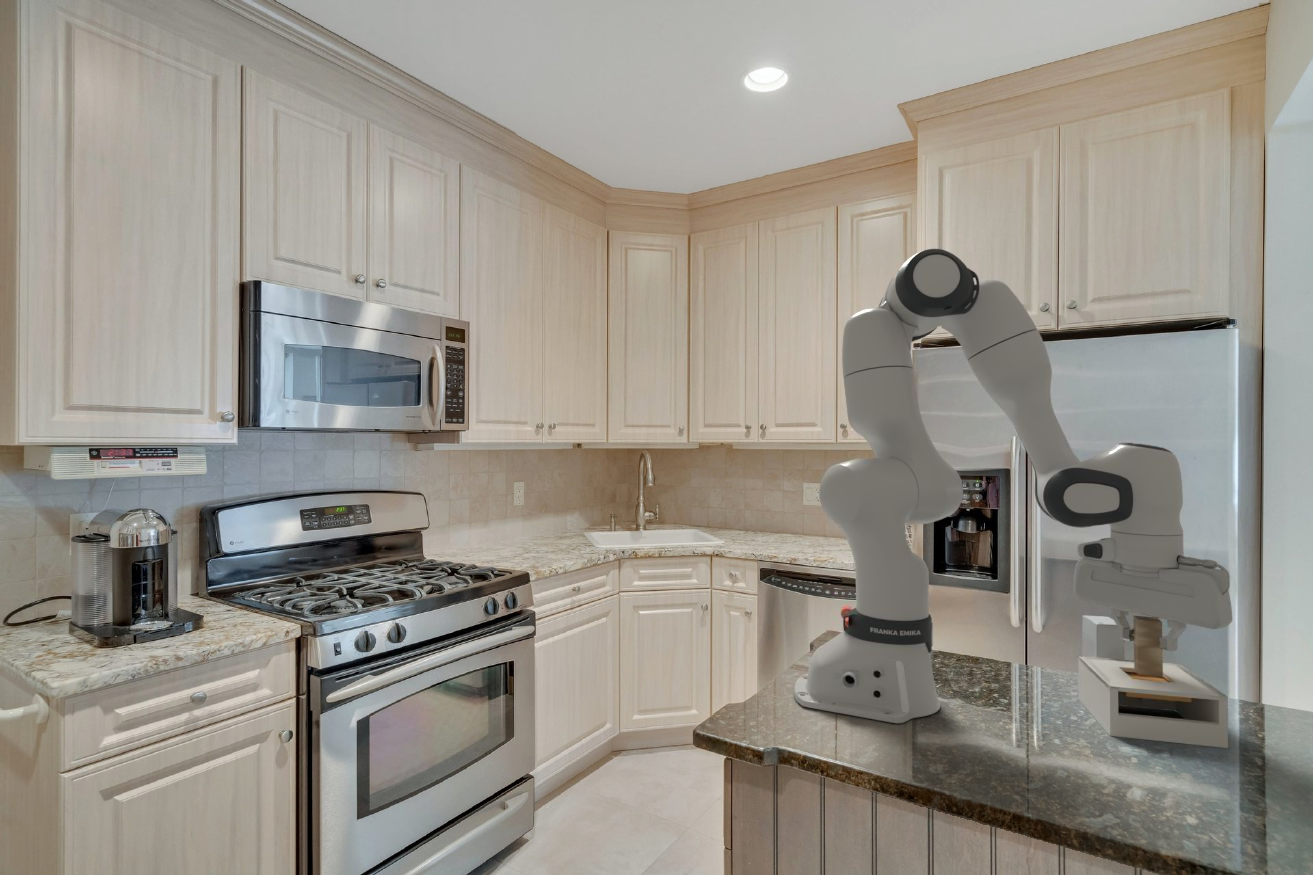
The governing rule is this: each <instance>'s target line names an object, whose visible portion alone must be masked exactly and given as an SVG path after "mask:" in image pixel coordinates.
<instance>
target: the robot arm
mask: <svg viewBox="0 0 1313 875" xmlns="http://www.w3.org/2000/svg"><path fill="white" fill-rule="evenodd" d="M975 281H976V282H975ZM938 327H941V328H940V329H943V330H945V331H947V332H948V333H949V334H951V335H952V336H953V337H954V339H955V340H956V341H957V342H958V344H960V347H961V350H962V351H963V354H964V356H965V359H966V362H967V363H968V365H969V366H970V369H971V370H972V372H973V373H974V375H975V377H976V379H977V380H978V382H979V383H980V385H981V386H982V388H983V389H984V390H985V392H986V393H987V394H988V395H989V396H990V398H991V399H992V401H994V402H995V403H996V404H997V405H998V408H1000V409H1001V410H1002V411H1003V412H1004V413H1005V415H1006V416H1007V417H1008V419H1009V421H1010V422H1011V423H1012V425H1013V426H1014V429H1015V430H1016V432H1017V434H1018V436H1019V439H1020V441H1021V443H1022V446H1023V447H1024V450H1025V451H1026V454H1027V455H1028V458H1029V460H1030V462H1031V465H1032V468H1033V471H1034V478H1035V479H1034V497H1035V500H1036V503H1037V505H1038V507H1039V509H1040V510H1041V511H1042V512H1043V513H1044V514H1045V515H1046V516H1047V517H1049V518H1050V519H1052V520H1054V521H1055V522H1056V521H1057V522H1058V523H1060V524H1062V525H1064V526H1067V527H1070V528H1076V529H1084V528H1092V527H1096V526H1104V525H1109V526H1110V537H1105V538H1100V539H1098V540H1093V541H1088V542H1083V543H1079V544H1078V545H1077V550H1076V551H1077V555H1078V556H1079V557H1080V559H1079V560H1078V561H1077V562H1076V564H1075V565H1074V566H1075V568H1074V575H1073V593H1074V596H1075V597H1076V599H1077V600H1078V601H1079V602H1080V603H1083V604H1084V603H1085V604H1089V605H1094V606H1100V607H1103V608H1108V609H1109V608H1110V616H1111V617H1112V618H1111V619H1113V620H1114V621H1115V623H1116V624H1117V626H1118V628H1119V637H1120V639H1122V640H1124V641H1127V642H1134V627H1131V625H1130V623H1129V621H1128V619H1127V616H1129V615H1130V614H1129V613H1132V614H1137V615H1141V616H1146V617H1156V618H1158V619H1160V620H1161V619H1162V620H1166V624H1167V626H1166V627H1167V628H1170V630H1169V632H1168V634H1167V635H1163V636H1162V637H1159V642H1160V643H1161V644H1160V645H1159V646H1160V649H1162V651H1163V650H1164V651H1167V652H1176V651H1177V650H1178V639H1179V638H1180V637H1181V635H1182V634H1183V632H1184V631H1186V629H1187V625H1192V626H1196V627H1201V628H1205V629H1209V630H1210V629H1211V630H1219V629H1224V628H1226V627H1228V626H1229V625H1230V624H1232V622H1233V609H1232V608H1233V607H1232V602H1231V597H1230V591H1229V589H1230V583H1231V582H1230V579H1231V578H1230V573H1229V571H1228V570H1227V569H1226V567H1224V566H1223V565H1221V564H1219V563H1218V562H1217V561H1216V560H1213V559H1206V558H1205V559H1203V558H1202V559H1200V558H1195V557H1192V556H1184V554H1185V553H1184V530H1183V527H1182V524H1181V518H1180V516H1181V510H1182V507H1183V504H1184V501H1183V500H1184V499H1183V493H1184V492H1183V480H1182V472H1181V467H1180V462H1179V461H1178V458H1177V457H1176V455H1175V454H1174V453H1173V451H1170V450H1169V449H1167V448H1164V447H1161V446H1157V445H1150V444H1146V443H1145V444H1144V443H1143V444H1142V443H1133V442H1120V443H1117V444H1115V445H1114V446H1113V447H1111V448H1110V449H1108V450H1106V451H1104V452H1102V453H1100V454H1097V455H1096V456H1093V457H1090V458H1088V459H1085V460H1082V461H1081V460H1079V458H1078V457H1077V456H1076V455H1075V453H1074V452H1073V450H1072V448H1071V446H1070V444H1069V441H1068V440H1067V437H1066V435H1065V433H1064V430H1063V429H1062V427H1061V425H1060V422H1059V421H1058V419H1057V417H1056V414H1055V412H1054V408H1053V403H1052V398H1051V396H1052V395H1051V385H1052V376H1053V374H1052V373H1053V370H1052V365H1051V361H1050V357H1049V353H1048V350H1047V347H1046V345H1045V341H1043V337H1042V335H1041V334H1040V332H1039V330H1038V328H1037V326H1036V324H1035V322H1034V320H1033V319H1032V317H1031V316H1030V314H1029V313H1028V311H1027V309H1026V307H1025V306H1024V305H1023V304H1022V302H1021V301H1020V299H1019V298H1018V297H1017V295H1016V294H1015V293H1014V292H1013V291H1012V289H1011V288H1010V287H1009V286H1008V285H1007V284H1006V283H1004V282H1003V281H1000V280H995V279H990V280H981V281H980V279H979V276H978V274H977V273H976V272H975V271H973V270H972V269H970V268H968V267H967V265H966V264H965V263H964V261H963V260H961V259H960V258H959V257H958V256H956V255H955V254H954V253H952V252H950V251H948V250H945V249H941V248H929V249H925V250H921V251H919V252H917V253H916V254H913V255H912V256H911V257H909V258H908V259H907V260H906V261H904V262H903V264H901V266H900V268H899V269H898V271H897V273H896V275H895V276H894V277H893V278H892V279H891V280H890V282H889V284H888V286H887V288H886V290H885V293H884V294H883V297H882V298H881V300H880V303H879V305H878V306H877V307H871V308H866V309H863V310H860V311H858V312H856V313H854V314H853V315H851V317H850V318H849V319H848V320H847V321H846V322H845V325H844V327H843V333H842V334H843V336H842V354H841V355H842V357H841V360H842V361H841V363H842V364H841V365H842V377H843V386H844V394H845V395H844V396H845V403H846V404H845V405H846V412H847V420H848V423H849V425H850V426H851V428H852V430H854V431H855V432H856V433H857V434H858V435H860V436H861V437H863V439H864V440H865V441H866V442H867V443H868V445H869V446H870V448H871V450H872V452H873V455H874V457H871V458H869V457H867V458H866V457H864V458H863V457H862V458H853V459H851V460H847V461H843V462H840V463H836V464H834V465H831V466H829V468H828V469H827V470H826V471H825V472H824V474H823V475H822V478H821V482H820V484H819V489H818V490H819V491H818V492H819V501H820V505H821V508H822V510H823V512H824V514H825V515H826V517H827V518H829V520H830V521H831V522H833V524H835V525H836V526H837V527H838V528H839V529H840V530H841V532H842V534H843V535H844V537H845V539H846V540H847V543H848V545H849V548H850V552H851V553H852V554H851V555H852V557H853V561H854V570H855V591H856V592H855V602H856V603H855V605H856V606H855V608H853V609H852V607H850V606H849V605H845V606H843V607H842V608H841V609H840V610H841V611H840V616H841V618H842V622H843V623H842V628H843V630H842V632H840V633H839V634H837V635H836V636H834V637H832V638H831V639H830V640H828V641H827V642H824V644H822V645H821V646H819V647H818V648H816V650H815V651H814V652H813V654H812V656H811V658H810V661H809V665H808V670H807V673H805V674H803V675H801V676H800V677H798V678H797V680H796V681H795V683H794V690H793V695H794V699H795V700H796V702H797V703H798V704H799V705H800V706H802V707H805V708H810V709H815V710H821V711H826V712H832V713H838V714H841V715H842V714H843V715H846V716H847V715H848V716H854V717H859V718H865V719H870V720H875V721H880V722H881V721H882V722H887V723H893V724H902V723H903V724H904V723H905V722H907V721H910V720H911V719H915V718H923V717H926V716H929V715H933V714H935V713H937V712H938V711H939V710H940V708H941V702H940V700H939V696H938V693H937V688H936V685H935V679H934V674H933V666H932V658H931V657H932V656H931V652H932V650H933V644H934V640H933V638H934V633H933V632H934V630H933V629H934V626H933V620H932V616H931V614H930V602H929V601H930V584H929V582H930V581H929V580H930V577H929V576H930V572H929V567H928V565H927V563H926V561H925V560H924V559H923V558H922V557H920V556H919V555H918V554H916V553H915V552H913V550H912V549H911V547H910V544H909V543H908V539H907V534H906V531H905V526H912V525H913V526H914V525H925V524H926V525H927V524H932V523H934V522H938V521H940V520H943V519H945V518H947V517H950V516H951V515H954V514H955V512H957V510H958V509H959V508H960V506H961V504H962V500H963V498H964V497H963V496H964V487H963V482H962V479H961V476H960V475H959V472H958V471H957V470H956V469H955V468H954V467H953V466H951V464H949V463H948V462H947V461H946V460H945V459H944V457H942V456H941V455H940V453H939V451H937V450H938V449H936V447H935V445H934V444H933V442H932V440H931V438H930V436H929V433H928V431H927V429H926V427H925V425H924V421H923V418H922V415H921V410H920V405H919V400H918V392H917V389H916V388H917V386H916V380H915V379H916V378H915V373H914V365H913V360H912V355H911V351H912V350H911V349H912V343H913V342H915V341H918V340H920V339H923V338H925V337H927V336H929V335H930V334H932V333H933V332H934V331H935V330H936V329H938Z"/></svg>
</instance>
